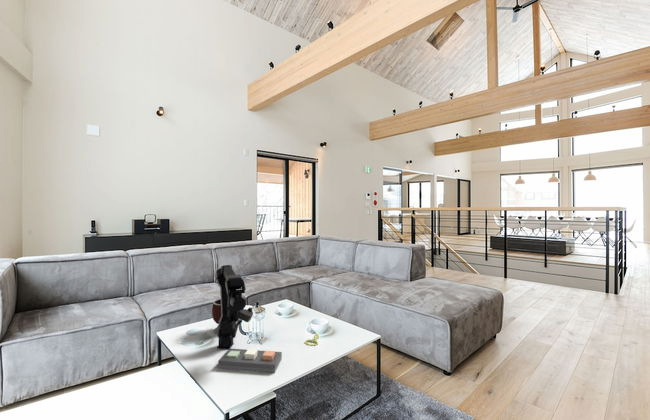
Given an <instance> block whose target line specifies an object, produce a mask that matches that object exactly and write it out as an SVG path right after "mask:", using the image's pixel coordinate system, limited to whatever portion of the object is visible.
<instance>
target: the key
mask: <svg viewBox="0 0 650 420" xmlns="http://www.w3.org/2000/svg"><path fill="white" fill-rule="evenodd" d="M319 334H320V333H315V334H314V336H315V337H314V338H312V339H306V340H305V341H304V343H305V345H307V346H310V347H315V346H316V345H317V346H318V345H319V342H318V340H317V339H318V338H319ZM308 342H309V343H308ZM312 343H313V344H312Z"/></svg>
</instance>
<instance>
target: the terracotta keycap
mask: <svg viewBox="0 0 650 420" xmlns="http://www.w3.org/2000/svg"><path fill="white" fill-rule="evenodd" d="M264 351H265V352H264V354H263V360H269V361H273V359H274V358H275V352H276V351H275V350H264Z"/></svg>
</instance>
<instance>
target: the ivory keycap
mask: <svg viewBox="0 0 650 420" xmlns="http://www.w3.org/2000/svg"><path fill="white" fill-rule="evenodd" d="M246 350H247V351H246V353H245V358H244V359H255V358H256V357H257V355H258V350H259V349H252V348H251V349H250V348H249V349H246Z"/></svg>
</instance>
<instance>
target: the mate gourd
mask: <svg viewBox="0 0 650 420" xmlns="http://www.w3.org/2000/svg"><path fill="white" fill-rule="evenodd" d="M211 315H212V320H213V321H214V323H215V324H217V325H219V320H220V318H221V298H219V299H215V300H213V302H212V308H211ZM212 330H213V334H215V335H217V333H216V330H217V327H215V328H214V329H212Z"/></svg>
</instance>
